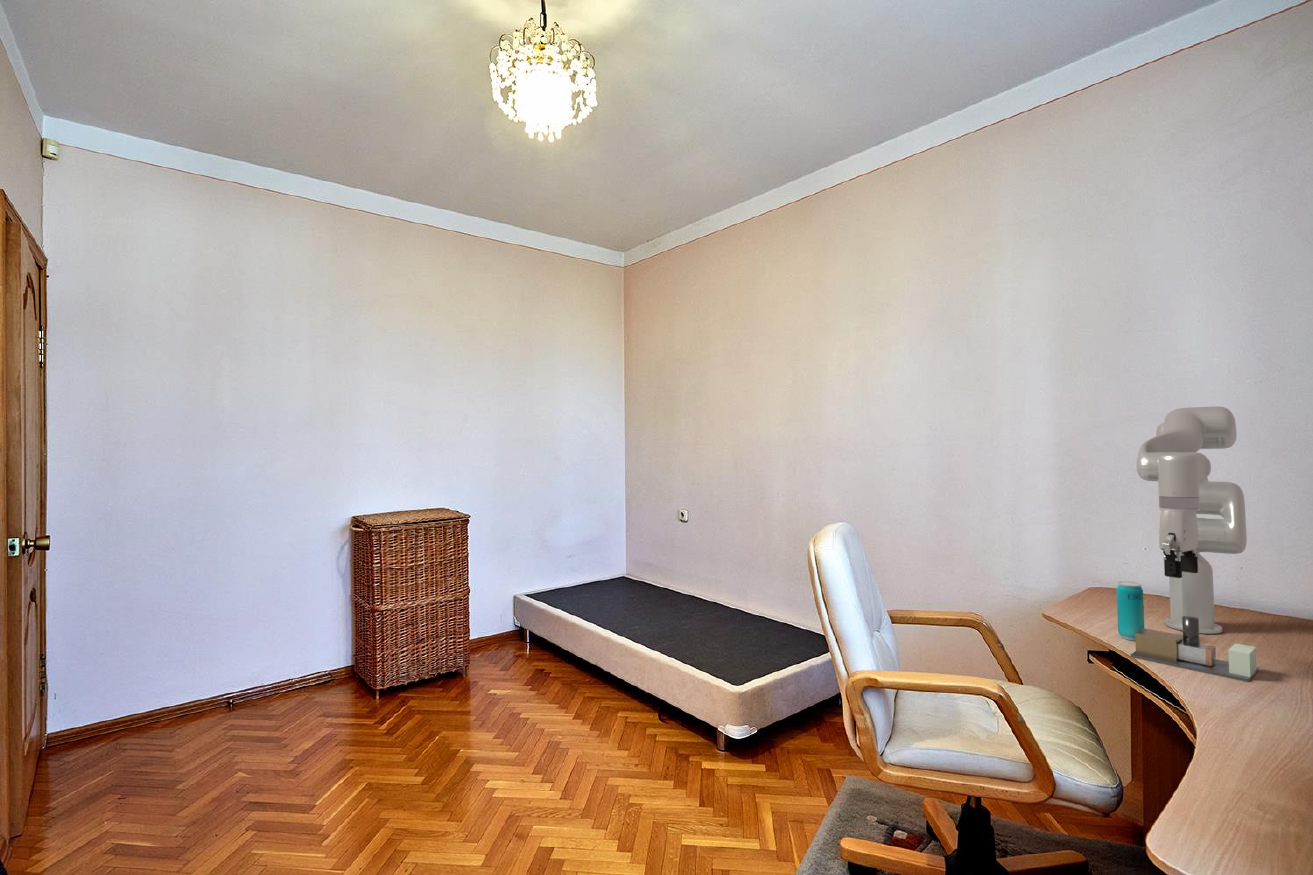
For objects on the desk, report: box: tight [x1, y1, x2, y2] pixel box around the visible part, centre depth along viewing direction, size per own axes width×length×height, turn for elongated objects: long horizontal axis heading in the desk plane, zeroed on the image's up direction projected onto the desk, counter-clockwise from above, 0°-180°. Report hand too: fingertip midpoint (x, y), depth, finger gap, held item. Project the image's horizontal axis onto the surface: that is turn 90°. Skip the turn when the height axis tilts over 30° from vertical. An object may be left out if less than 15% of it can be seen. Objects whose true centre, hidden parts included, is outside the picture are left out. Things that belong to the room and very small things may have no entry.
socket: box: [1227, 643, 1258, 677], centre depth 141 cm, size 7×4×5 cm, turn 127°
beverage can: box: [1116, 581, 1145, 642], centre depth 167 cm, size 6×6×15 cm
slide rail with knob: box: [1130, 627, 1259, 683], centre depth 148 cm, size 11×22×6 cm, turn 37°
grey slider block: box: [1177, 616, 1217, 666], centre depth 150 cm, size 4×14×10 cm, turn 37°
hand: (1181, 574), depth 148 cm, fingers open, 9 cm apart
